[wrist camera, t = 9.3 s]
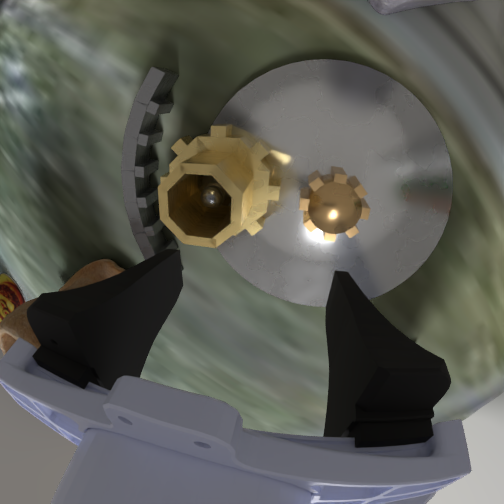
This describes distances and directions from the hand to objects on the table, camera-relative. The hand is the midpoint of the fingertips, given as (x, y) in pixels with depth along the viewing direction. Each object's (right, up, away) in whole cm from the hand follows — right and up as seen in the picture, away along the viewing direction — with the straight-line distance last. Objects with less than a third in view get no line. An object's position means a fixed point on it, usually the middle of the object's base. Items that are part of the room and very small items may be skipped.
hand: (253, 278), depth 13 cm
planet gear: (-2, +6, +7) cm, 10 cm away
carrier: (+3, +6, +8) cm, 10 cm away
